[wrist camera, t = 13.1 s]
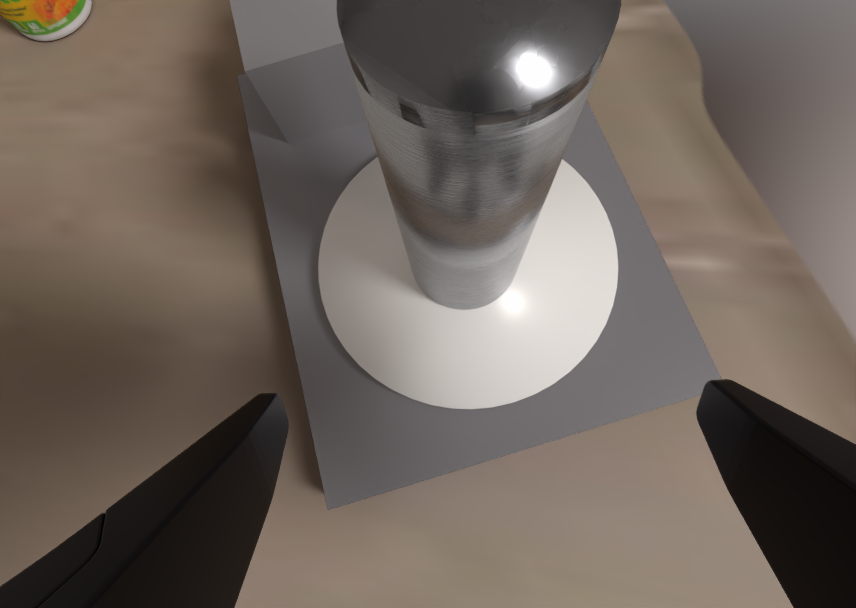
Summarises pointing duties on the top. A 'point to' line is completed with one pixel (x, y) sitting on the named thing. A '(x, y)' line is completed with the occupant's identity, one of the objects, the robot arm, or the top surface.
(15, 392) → the top surface
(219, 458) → the robot arm
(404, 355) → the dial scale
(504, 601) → the top surface
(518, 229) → the ball
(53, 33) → the supplement bottle
